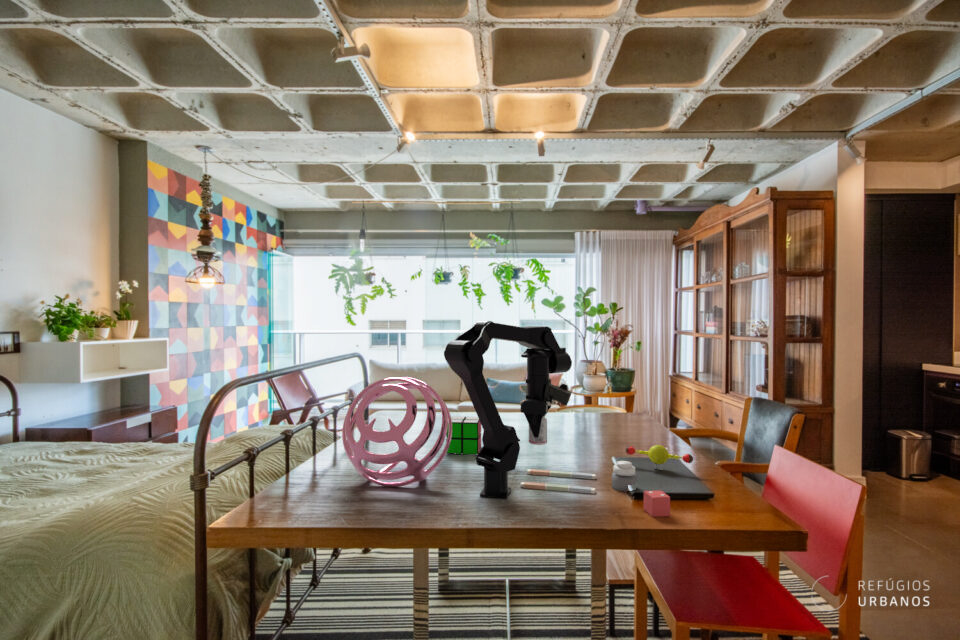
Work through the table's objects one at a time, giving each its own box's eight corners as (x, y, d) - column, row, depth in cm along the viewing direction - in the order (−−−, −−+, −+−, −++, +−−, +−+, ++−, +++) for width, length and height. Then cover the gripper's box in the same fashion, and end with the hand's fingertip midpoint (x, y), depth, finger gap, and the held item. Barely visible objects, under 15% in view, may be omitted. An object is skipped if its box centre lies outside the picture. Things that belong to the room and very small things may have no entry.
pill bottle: (535, 439, 129) (535, 408, 130) (550, 442, 126) (550, 410, 126) (524, 443, 126) (525, 410, 126) (540, 446, 123) (540, 412, 123)
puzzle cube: (481, 447, 160) (481, 416, 160) (478, 455, 150) (478, 422, 150) (451, 446, 161) (451, 416, 161) (446, 454, 151) (446, 422, 151)
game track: (638, 497, 114) (638, 484, 114) (520, 487, 121) (520, 475, 121) (635, 480, 126) (635, 468, 126) (527, 472, 133) (527, 461, 133)
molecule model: (695, 472, 134) (695, 447, 134) (691, 477, 129) (691, 451, 129) (628, 461, 143) (628, 438, 143) (623, 466, 138) (623, 442, 139)
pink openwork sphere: (390, 391, 149) (362, 345, 127) (474, 419, 141) (460, 375, 118) (344, 479, 135) (303, 444, 113) (434, 515, 127) (410, 485, 105)
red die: (670, 515, 103) (670, 496, 103) (652, 516, 103) (652, 497, 103) (661, 508, 107) (661, 490, 107) (643, 509, 107) (643, 490, 107)
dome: (636, 476, 118) (636, 466, 118) (613, 474, 119) (613, 465, 119) (634, 470, 123) (634, 460, 123) (613, 468, 124) (613, 459, 124)
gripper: (567, 379, 115) (566, 446, 115) (571, 372, 133) (571, 429, 133) (520, 378, 118) (520, 442, 118) (531, 371, 136) (530, 427, 136)
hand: (537, 435), depth 126 cm, fingers closed on pill bottle, 5 cm apart
